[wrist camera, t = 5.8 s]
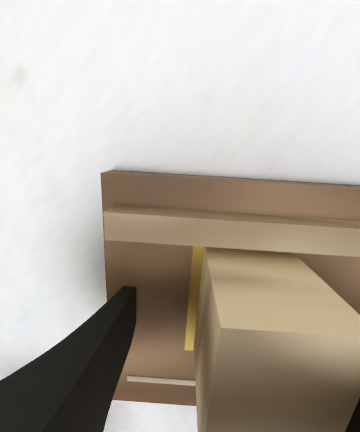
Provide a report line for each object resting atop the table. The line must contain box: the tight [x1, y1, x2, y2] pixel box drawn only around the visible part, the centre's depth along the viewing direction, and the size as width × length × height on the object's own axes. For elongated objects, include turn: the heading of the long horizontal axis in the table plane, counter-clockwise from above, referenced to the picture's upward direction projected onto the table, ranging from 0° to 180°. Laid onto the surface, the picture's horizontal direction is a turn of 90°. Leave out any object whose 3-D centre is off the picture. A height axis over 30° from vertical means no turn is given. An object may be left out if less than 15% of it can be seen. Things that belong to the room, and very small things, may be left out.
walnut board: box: [101, 170, 360, 406], centre depth 11 cm, size 14×22×3 cm, turn 87°
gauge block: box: [194, 247, 360, 432], centre depth 9 cm, size 10×4×5 cm, turn 177°
